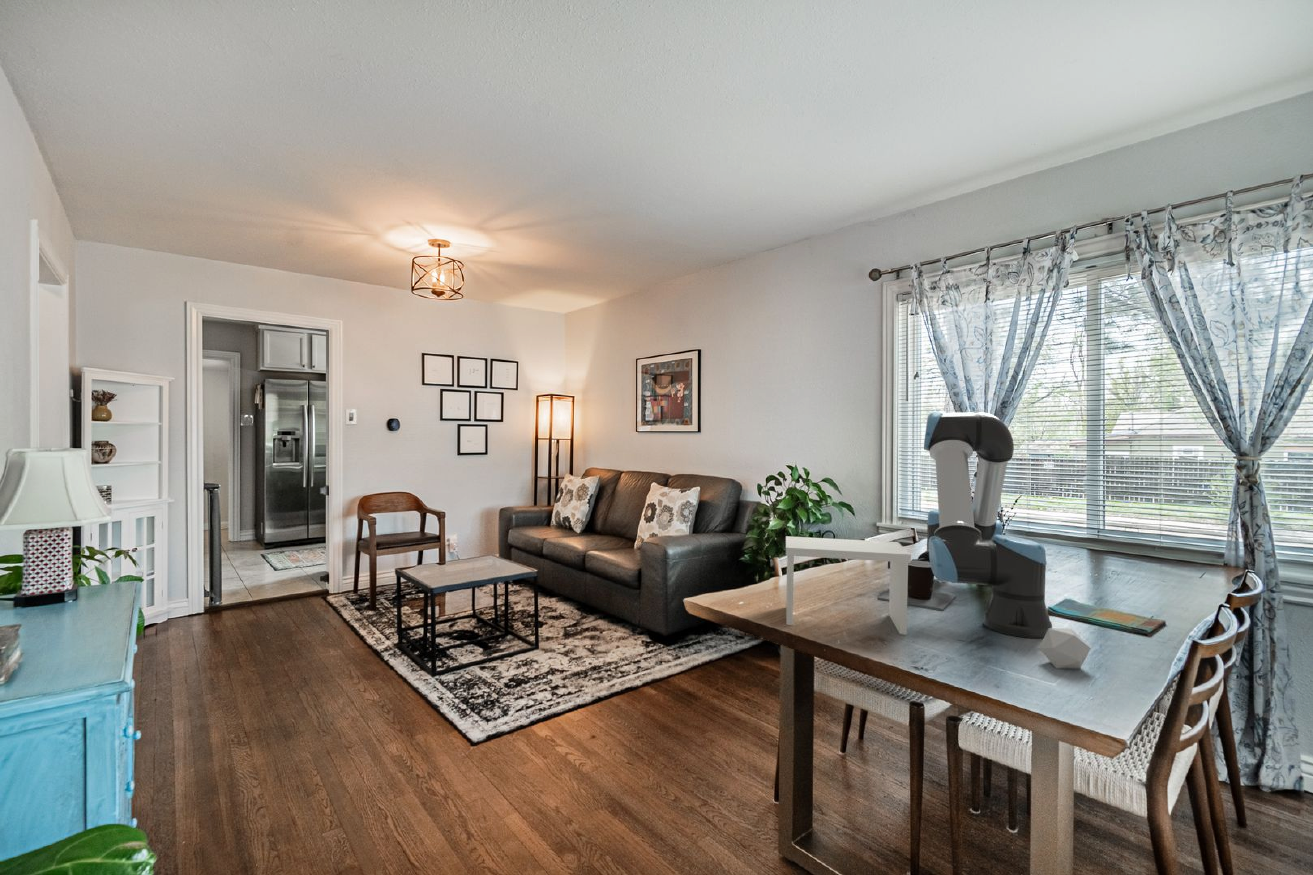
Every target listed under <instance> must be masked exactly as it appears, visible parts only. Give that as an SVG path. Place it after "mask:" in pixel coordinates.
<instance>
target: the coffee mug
mask: <svg viewBox="0 0 1313 875" xmlns="http://www.w3.org/2000/svg"><path fill="white" fill-rule="evenodd" d="M934 579H935V576H934V574H933V572H932V569H931V564H930V563H929V562H924V561H911V563H908V588H907V591H908V597H910V598H913V599H918V600H930V599H931V595H932V592H933V588H934V587H933V586H934V582H935V580H934Z"/></svg>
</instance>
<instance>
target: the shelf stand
mask: <svg viewBox="0 0 1313 875" xmlns="http://www.w3.org/2000/svg"><path fill="white" fill-rule="evenodd" d="M785 556H786V596H785V597H786V600H785V602H786V603H785V614H786V615H785V616H786V621H785V622H786V624H785V625H786V626H793V622H794V621H793V620H794V619H793V618H794V617H793V616H794V615H793V614H794V570H795V569H794V568H795V562H794V561H795V557H806V558H822V559H823V558H826V559H839V560H840V559H842V560H844V559H845V560H860V561H873V562H877V561H878V562H888V561H890V569H889V589H890V591H889V601H888V602H889V604H888V606H889V607H888V616H889V617H890V619H891V621H892V623H893V624H894V626H895V629H896V630H897V631H898V633H899V634H900V635H905V636H906V635H907V631H908V630H907V629H908V628H907V624H908V622H907V621H908V605H907V588H908V563H911V560H912V553H910V552H909V551H908V550H907V549H906V548H905V547H904V546H902V544H901V543H900V542H899V541H883V540H865V539H864V540H862V539H847V538H845V539H843V538H827V537H824V538H823V537H810V536H809V537H807V536H805V537H803V536H787V535H786V536H785Z"/></svg>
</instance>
